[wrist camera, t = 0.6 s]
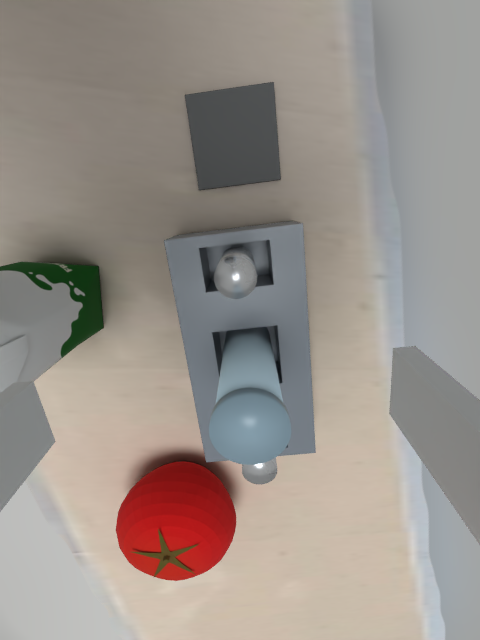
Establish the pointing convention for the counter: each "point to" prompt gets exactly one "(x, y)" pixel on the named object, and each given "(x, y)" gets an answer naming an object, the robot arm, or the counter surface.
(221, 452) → the cartridge
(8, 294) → the milk carton
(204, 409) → the housing
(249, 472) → the plunger
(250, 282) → the plunger
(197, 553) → the tomato
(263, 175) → the mat
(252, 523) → the counter surface
